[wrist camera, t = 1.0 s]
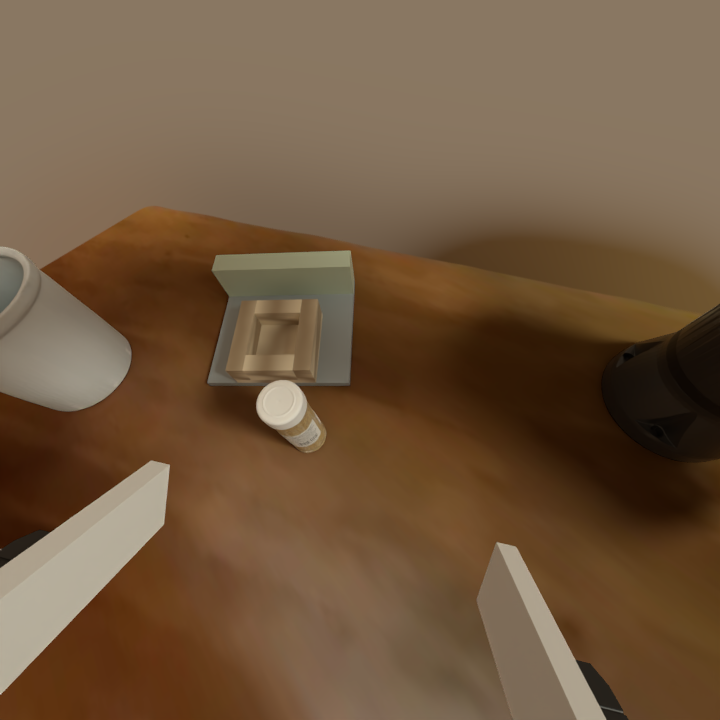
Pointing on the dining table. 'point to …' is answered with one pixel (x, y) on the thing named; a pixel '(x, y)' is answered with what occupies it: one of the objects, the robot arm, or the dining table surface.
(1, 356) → the utensil holder
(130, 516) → the robot arm
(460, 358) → the dining table surface
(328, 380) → the backstop board
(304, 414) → the sprinkles bottle
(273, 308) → the socket block
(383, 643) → the dining table surface
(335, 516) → the dining table surface
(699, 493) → the dining table surface
